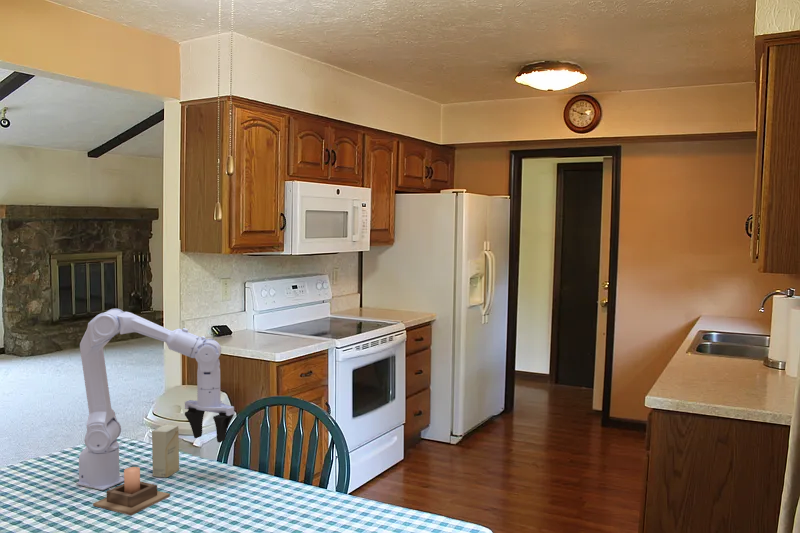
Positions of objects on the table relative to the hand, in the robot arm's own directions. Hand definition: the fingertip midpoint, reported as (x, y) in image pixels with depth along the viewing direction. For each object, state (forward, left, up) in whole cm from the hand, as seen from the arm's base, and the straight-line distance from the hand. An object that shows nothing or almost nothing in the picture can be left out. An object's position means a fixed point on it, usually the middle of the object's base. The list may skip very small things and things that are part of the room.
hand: (209, 439), depth 171 cm
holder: (-7, -19, -10) cm, 23 cm away
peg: (-7, -19, -10) cm, 22 cm away
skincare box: (-13, -2, -11) cm, 17 cm away
